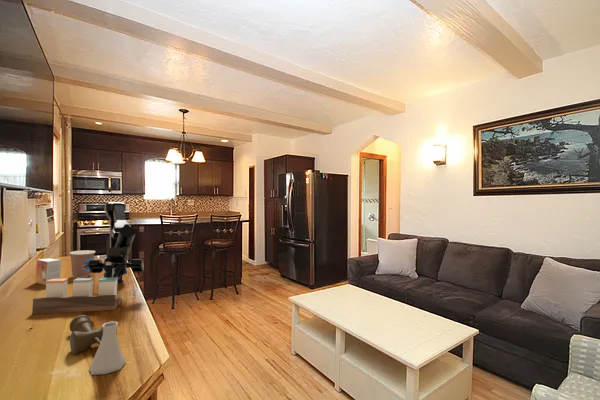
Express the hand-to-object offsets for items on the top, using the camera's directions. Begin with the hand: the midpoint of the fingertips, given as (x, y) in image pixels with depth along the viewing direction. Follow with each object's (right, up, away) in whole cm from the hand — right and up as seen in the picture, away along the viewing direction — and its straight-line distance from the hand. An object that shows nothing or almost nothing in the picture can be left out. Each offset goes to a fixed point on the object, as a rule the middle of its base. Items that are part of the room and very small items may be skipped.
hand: (110, 285), depth 109 cm
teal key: (0, -5, -2) cm, 6 cm away
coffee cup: (-38, -6, +35) cm, 52 cm away
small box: (-43, -6, +21) cm, 48 cm away
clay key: (-15, -4, -7) cm, 17 cm away
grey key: (-7, -5, -5) cm, 10 cm away
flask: (+27, -7, -41) cm, 50 cm away
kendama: (+14, -7, -30) cm, 34 cm away
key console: (-7, -6, -6) cm, 11 cm away
